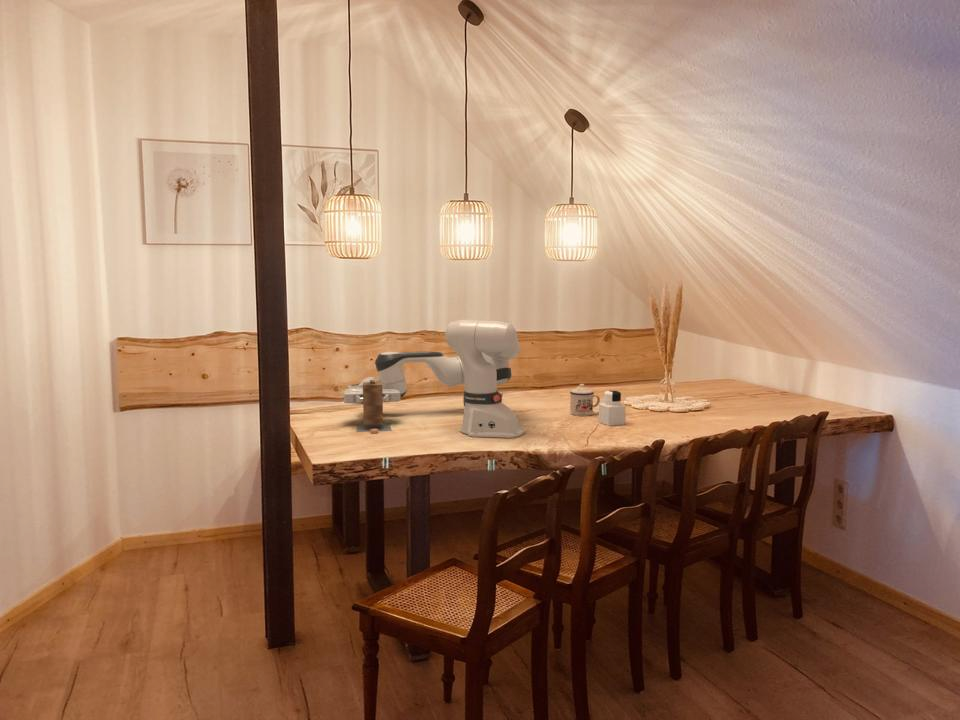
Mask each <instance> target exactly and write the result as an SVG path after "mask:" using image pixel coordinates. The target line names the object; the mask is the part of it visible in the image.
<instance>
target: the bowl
mask: <svg viewBox="0 0 960 720" xmlns="http://www.w3.org/2000/svg"><path fill="white" fill-rule="evenodd" d="M370 433H371V434H374V435H375V434H379V431H378V429H371V431H370Z"/></svg>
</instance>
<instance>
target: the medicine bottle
mask: <svg viewBox="0 0 960 720" xmlns="http://www.w3.org/2000/svg"><path fill="white" fill-rule="evenodd" d="M603 395H604V396H603V402H602V403H601V402H599V404H598V422H599V424H603V425H605V426H608V427H613V426H614V427H615V426H624V425H626V405H625V404H622V403H621V401H622V393H621V392H620V391H618V390H606V391H604V393H603Z"/></svg>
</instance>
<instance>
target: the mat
mask: <svg viewBox="0 0 960 720" xmlns="http://www.w3.org/2000/svg"><path fill="white" fill-rule="evenodd" d="M355 427H356V433H363V432H365V433H366V432H370V433H371V429H378V432H392V428H391V427H392V426H391V423H389V422H388V423H387V422H386V423H385V422H383V424H370V425H364V423H361V424H359V423H358V424H357V423H356V425H355Z"/></svg>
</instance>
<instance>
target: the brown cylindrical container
mask: <svg viewBox="0 0 960 720" xmlns="http://www.w3.org/2000/svg"><path fill="white" fill-rule="evenodd" d="M383 403H384V402H383V391H382V382H375V380H370V382H363V404H362V405H363V406H362V407H363V408H362V409H363V411H362V412H363V415H362V416H363V417H362V418H363V424H364V425H370V424H384V409H383V407H384V404H383Z"/></svg>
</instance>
